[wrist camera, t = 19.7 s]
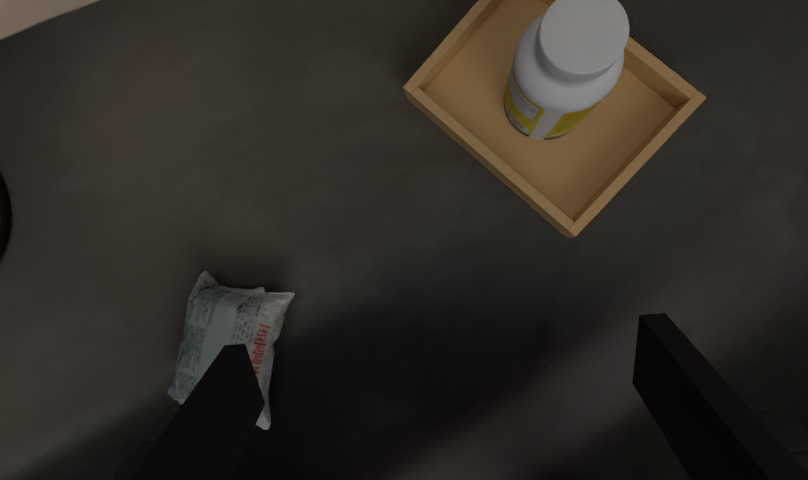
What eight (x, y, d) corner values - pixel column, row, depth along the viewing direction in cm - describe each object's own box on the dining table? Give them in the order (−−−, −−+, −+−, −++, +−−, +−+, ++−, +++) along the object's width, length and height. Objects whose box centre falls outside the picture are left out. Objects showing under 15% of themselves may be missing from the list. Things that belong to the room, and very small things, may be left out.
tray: (406, 99, 36) (402, 87, 34) (516, -27, 35) (521, -50, 33) (566, 237, 35) (575, 237, 32) (686, 109, 34) (707, 97, 31)
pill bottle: (601, 88, 34) (675, 8, 22) (554, 157, 34) (603, 113, 23) (531, 47, 35) (567, -51, 23) (486, 115, 35) (499, 52, 23)
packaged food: (305, 289, 37) (281, 296, 32) (278, 421, 38) (250, 448, 33) (215, 268, 39) (179, 271, 34) (189, 396, 39) (149, 417, 34)
